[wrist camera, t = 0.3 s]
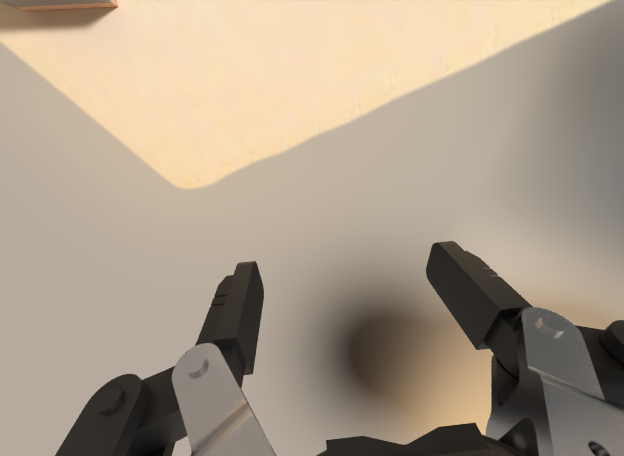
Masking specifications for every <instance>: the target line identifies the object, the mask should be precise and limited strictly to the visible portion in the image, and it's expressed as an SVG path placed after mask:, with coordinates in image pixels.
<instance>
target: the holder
mask: <svg viewBox="0 0 624 456" xmlns="http://www.w3.org/2000/svg"><path fill="white" fill-rule="evenodd" d="M0 2H2V3H5V4H8V5H11V6H13V7H16V8H19V9H21V10H24V11H30V10H52V9H74V8H97V7H118V4H117V1H116V0H0Z"/></svg>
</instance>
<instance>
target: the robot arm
mask: <svg viewBox="0 0 624 456" xmlns="http://www.w3.org/2000/svg"><path fill="white" fill-rule="evenodd" d="M426 274H427V278H428V280H429V282H430V284H431V285H432V286H433V288H434V289H435V291H436V292H437V294H438V295H439V296H440V298H441V299H442V301H443V302H444V304H445V305H446V307H447V308H448V309H449V311H450V312H451V314H452V315H453V317H454V318H455V319H456V321H457V322H458V324H459V325H460V326H461V328H462V329H463V331H464V332H465V334H466V335H467V336H468V338H469V340H470V341H471V342H472V344H473V345H474V347H475V348H476V350H480V349H491V351H492V352H493V353H494V355H493V356H492V361H491V363H492V365H491V367H492V368H491V380H492V381H491V383H492V384H491V390H492V392H491V399H492V400H491V404H492V405H491V414H490V418H489V420H488V423H487V428H486V435H485V436H484V435H482V434H481V433H480V431H479V429H478V427H477V425H476V423H469V424H460V425H452V426H443V427H438V428H436V429H435V430H433V431H431V432H429V433H427V434H425V435H423V436H422V437H420V438H418V439H416V440H414V441H413V442H411V443H409V444H406V445H401V444H397V443H392V442H388V441H383V440H379V439H374V438H370V437H365V436H359V437H350V438H342V439H333V440H326V444H327V450H325V451H324V452H322V453H320V454H318V455H317V456H624V320H618V321H615V322H613V323H612V324H610V325H609V326H608V327H607V328H606V329H605V330H601V329H594V328H588V327H582V326H575V325H574V324H573V323H571V322H570V321H569V320H567V319H566V318H564V317H563V316H560V315H558V314H557V313H555V312H552V311H550V310H547V309H543V308H538V307H533V306H531V305H530V304H529V303H528V302H527V301H526V300H525V299H524V298H523V297H522V296H521V295H519V294H518V293H517V292H516V291H515V290H514V289H513V288H512V287H511V286H510V285H509V284H507V283H506V282H505V281H504V280H503V279H502V278H501V277H498V274H497V273H495V272H494V271H493V270H492V269H490V267H489V266H488V265H487V264H486V263H485V262H484V261H482V260H481V259H480V258H479V257H477V256H475V255H473V254H471V253H470V252H468V251H464V250H463V249H462V248H461V247H460V246H459V245H458V244H457V243H455V242H453V241H448V242H438V243H434V244H433V245H432V248H431V252H430V256H429V259H428V263H427V267H426ZM263 299H264V289H263V284H262V280H261V277H260V273H259V270H258V266H257V263H256V262H255V261H253V262H243V263H238V264H237V266H236V270H235V273H234V275H231V276H226V277H225V278H224V280H223V281H222V282H221V283H220V284H219V285H218V288H217V291H216V293H215V298H214V299H213V301H212V304H211V307H210V309H209V312H208V314H207V317H206V319H205V322H204V325H203V327H202V330H201V332H200V335H199V338H198V340H197V343H196V345H195V347H193V348H191V349H190V350H188V351H187V352H186V353H185V354H184V355H183V356H182V357H181V358H180V359H179V361H178V362H177V364H176V365H175V366H174V367H172V368H169V369H167V370H165V371H163V372H160V373H158V374H156V375H153V376H151V377H148V378H146V379H144V380H141V379H140V378H139V377H138V376H137V375H134V374H125V375H121V376H119V377H117V378H115V379H113V380H111V381H109V382H108V383H106V384H105V385H104V386H103V387H101V388H100V389H99V390H98V391H97V392H96V393H95V394H94V395H93V396H92V397H91V399H90V400H89V401H88V403H87V404H86V406H85V407H84V409H83V410H82V412H81V414H80V415H79V417H78V419H77V420H76V422H75V424H74V425H73V427H72V429H71V430H70V432H69V434H68V435H67V437H66V438H65V440H64V442H63V444H62V445H61V447H60V448H59V450H58V452H57V453H56V455H55V456H172V452H173V449H174V445H175V442H176V441H178V440H180V439H182V438H184V437H186V436H188V438H189V442H190V445H191V451H192V454H191V456H277V455H276V454H275V452H274V450H273V448H272V446H271V444H270V443H269V441H268V439H267V437H266V435H265V433H264V431H263V429H262V428H261V426H260V424H259V422H258V420H257V418H256V416H255V414H254V412H253V410H252V408H251V407H250V405H249V403H248V401H247V399H246V397H245V395H244V394H243V392H242V390H241V387H242V382H243V376H244V375H249V374H253V369H254V362H255V355H256V348H257V341H258V334H259V327H260V320H261V313H262V306H263Z"/></svg>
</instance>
